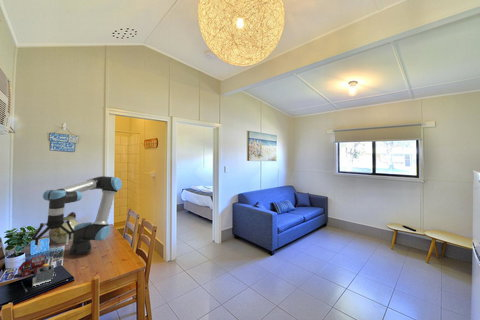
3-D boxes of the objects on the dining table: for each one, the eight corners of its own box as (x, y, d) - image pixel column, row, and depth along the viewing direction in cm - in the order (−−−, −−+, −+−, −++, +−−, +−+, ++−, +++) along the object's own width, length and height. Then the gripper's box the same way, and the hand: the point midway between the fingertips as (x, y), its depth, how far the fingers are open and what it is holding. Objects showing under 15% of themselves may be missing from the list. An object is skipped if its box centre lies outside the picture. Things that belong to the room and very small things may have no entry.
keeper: (32, 279, 121) (34, 263, 121) (54, 274, 128) (56, 259, 129) (32, 287, 114) (34, 270, 114) (56, 280, 121) (57, 264, 122)
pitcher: (52, 247, 165) (56, 218, 166) (43, 241, 176) (46, 213, 178) (83, 240, 184) (86, 214, 186) (73, 235, 196) (76, 210, 197)
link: (35, 278, 121) (36, 268, 121) (52, 274, 126) (53, 264, 127) (35, 283, 116) (37, 273, 116) (53, 279, 121) (54, 269, 122)
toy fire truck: (17, 274, 125) (19, 258, 126) (44, 268, 134) (46, 252, 135) (17, 279, 121) (19, 262, 121) (45, 272, 130) (46, 256, 130)
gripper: (27, 218, 114) (24, 254, 113) (81, 212, 132) (78, 243, 132) (27, 215, 119) (24, 250, 118) (79, 210, 137) (76, 240, 137)
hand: (53, 247), depth 125 cm, fingers open, 13 cm apart
